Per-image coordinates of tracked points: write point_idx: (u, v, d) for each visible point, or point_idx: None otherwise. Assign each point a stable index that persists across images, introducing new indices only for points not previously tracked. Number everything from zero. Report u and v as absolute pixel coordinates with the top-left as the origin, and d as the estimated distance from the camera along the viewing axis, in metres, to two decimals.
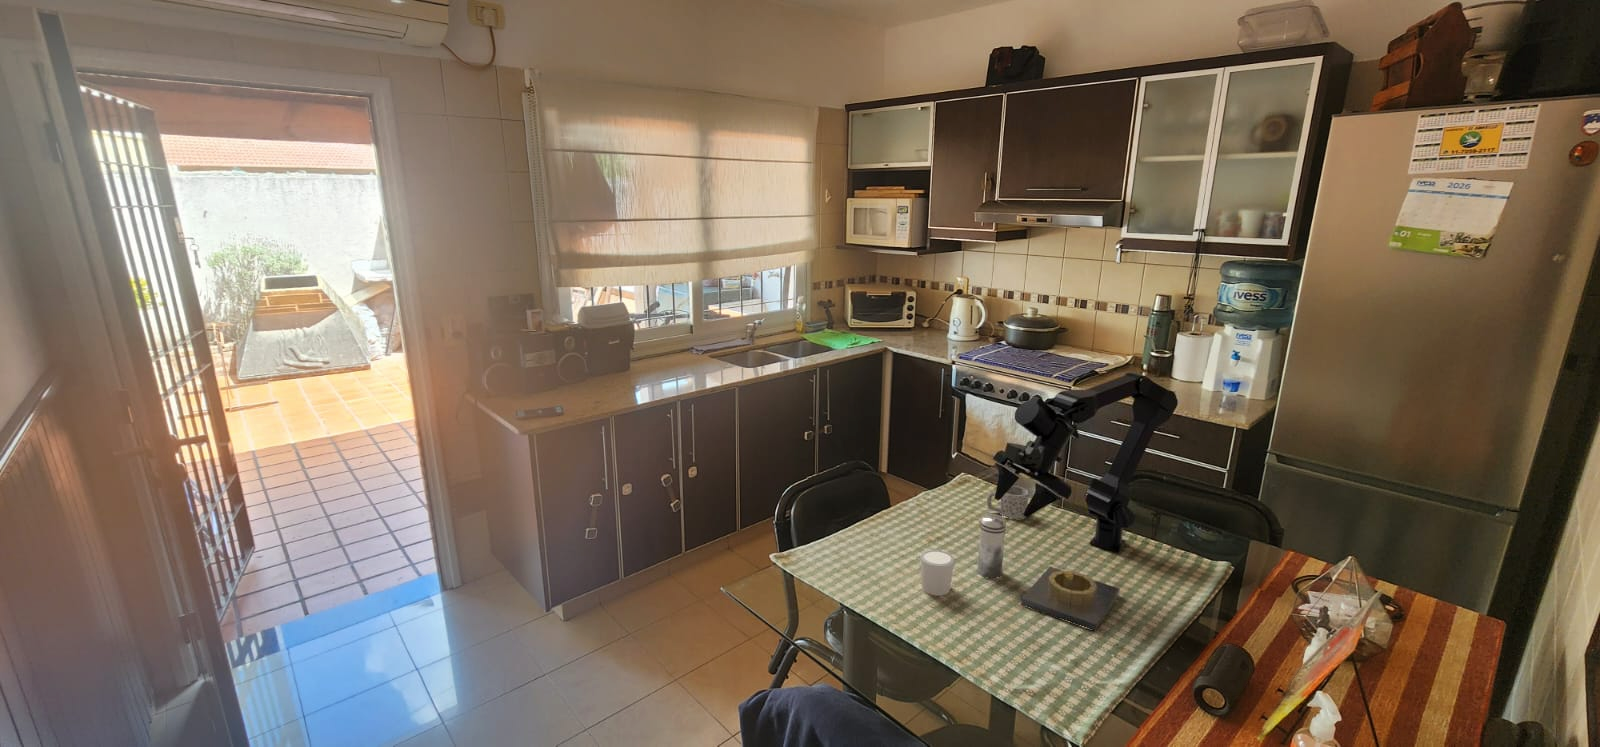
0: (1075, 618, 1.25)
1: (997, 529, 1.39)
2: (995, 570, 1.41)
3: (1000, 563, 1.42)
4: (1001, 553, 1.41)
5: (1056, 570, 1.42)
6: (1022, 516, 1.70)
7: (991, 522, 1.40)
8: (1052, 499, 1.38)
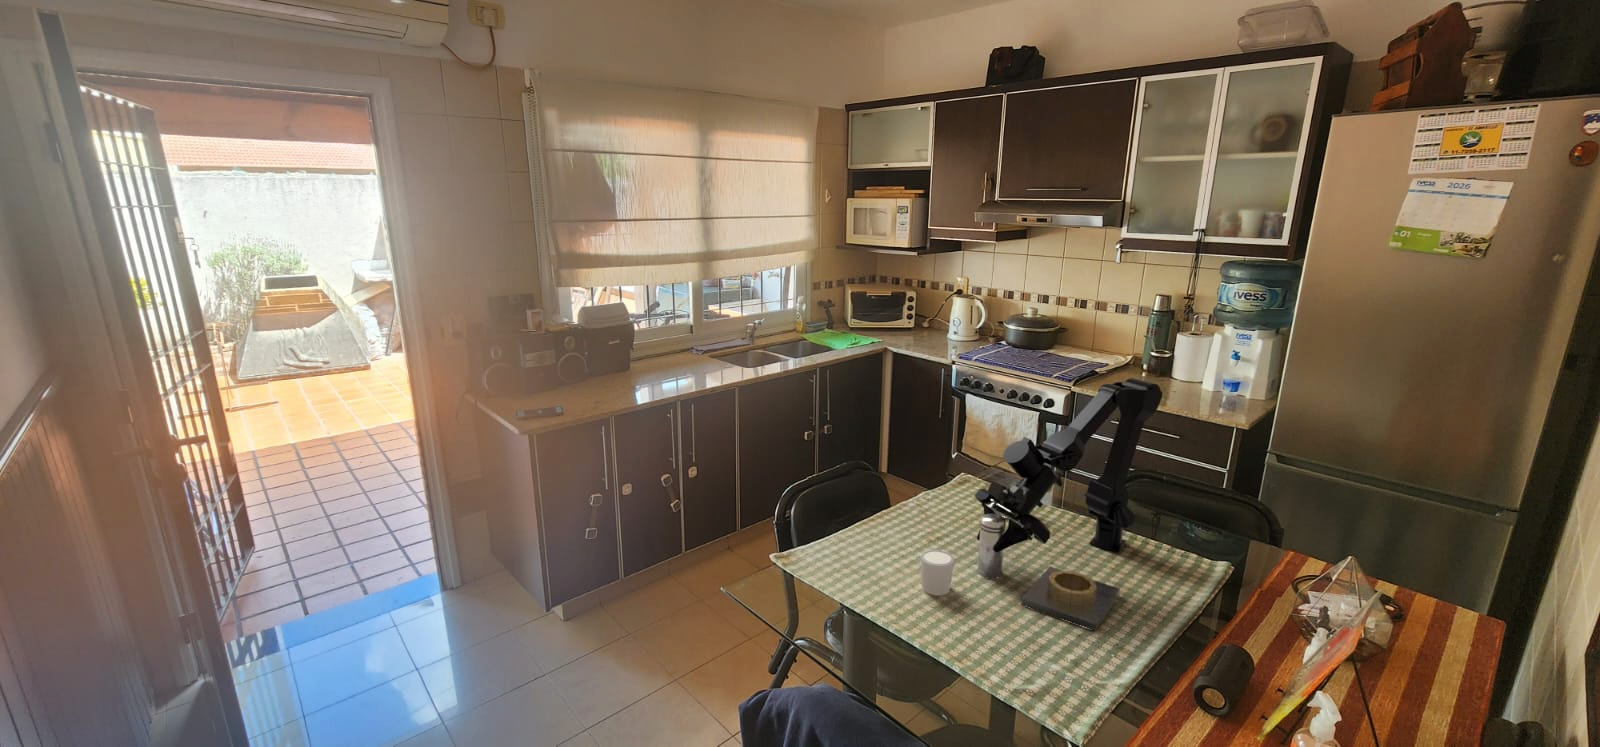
0: (1075, 618, 1.25)
1: (997, 529, 1.39)
2: (995, 570, 1.41)
3: (1000, 563, 1.42)
4: (1001, 553, 1.41)
5: (1056, 570, 1.42)
6: None
7: (990, 522, 1.40)
8: (1023, 538, 1.40)
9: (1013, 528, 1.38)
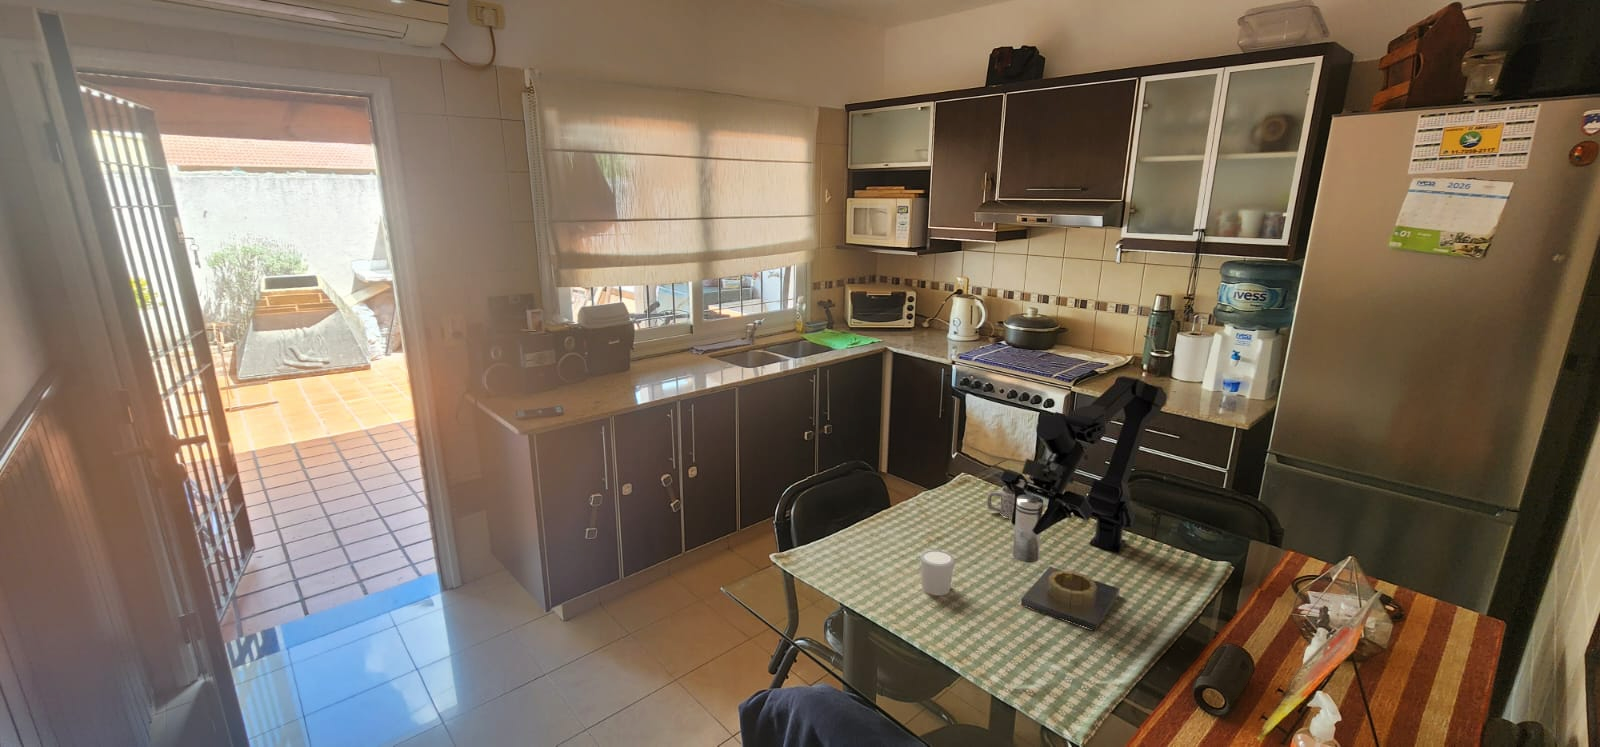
0: (1075, 618, 1.25)
1: (1037, 510, 1.32)
2: (1035, 553, 1.35)
3: (1039, 545, 1.35)
4: (1039, 535, 1.35)
5: (1056, 570, 1.42)
6: None
7: (1030, 503, 1.33)
8: (1062, 517, 1.34)
9: (1054, 507, 1.32)
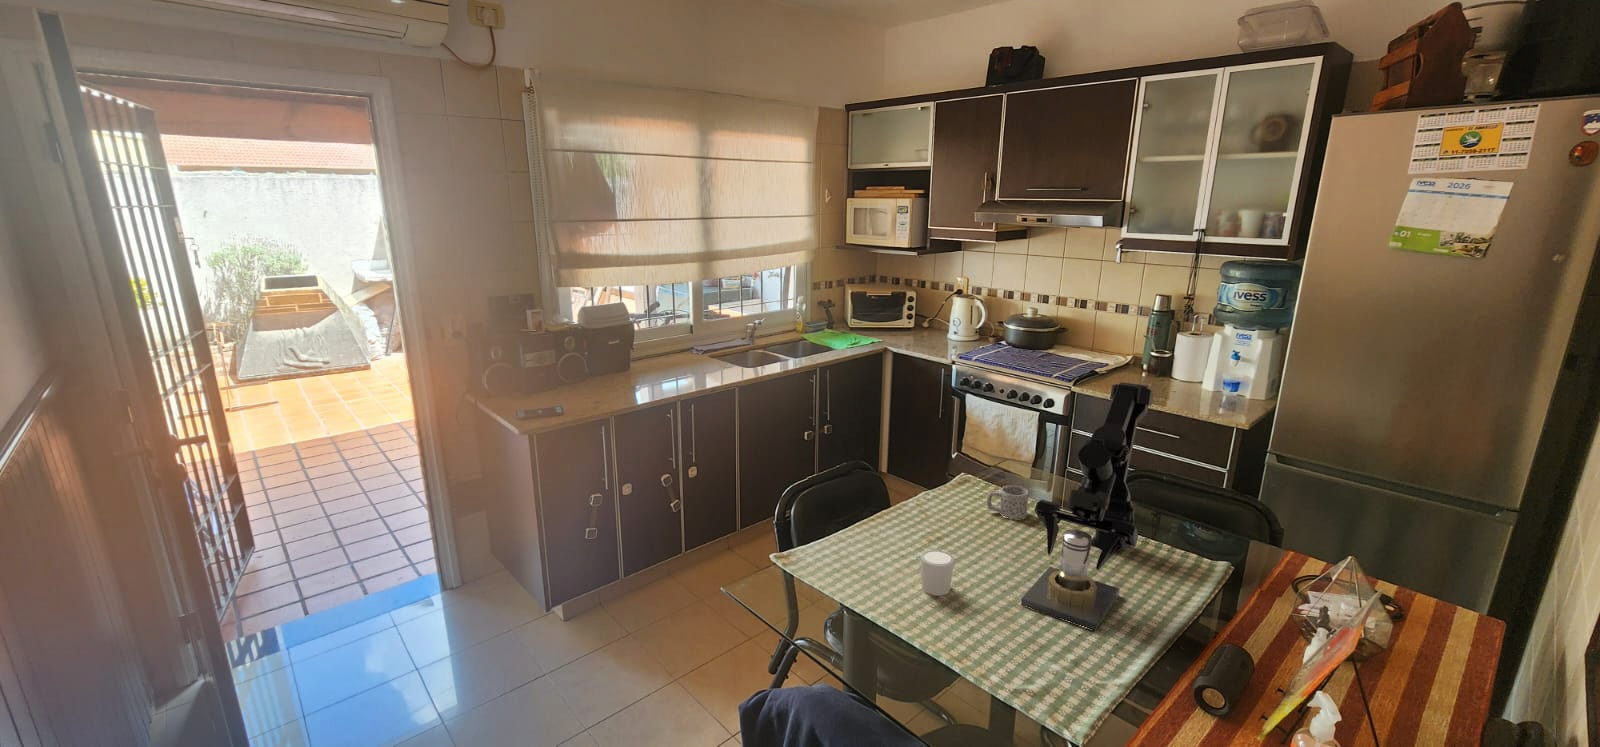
0: (1075, 618, 1.25)
1: (1088, 546, 1.29)
2: (1084, 589, 1.31)
3: None
4: (1087, 570, 1.31)
5: (1056, 570, 1.42)
6: (1022, 516, 1.70)
7: (1081, 540, 1.29)
8: (1117, 547, 1.30)
9: (1115, 540, 1.28)
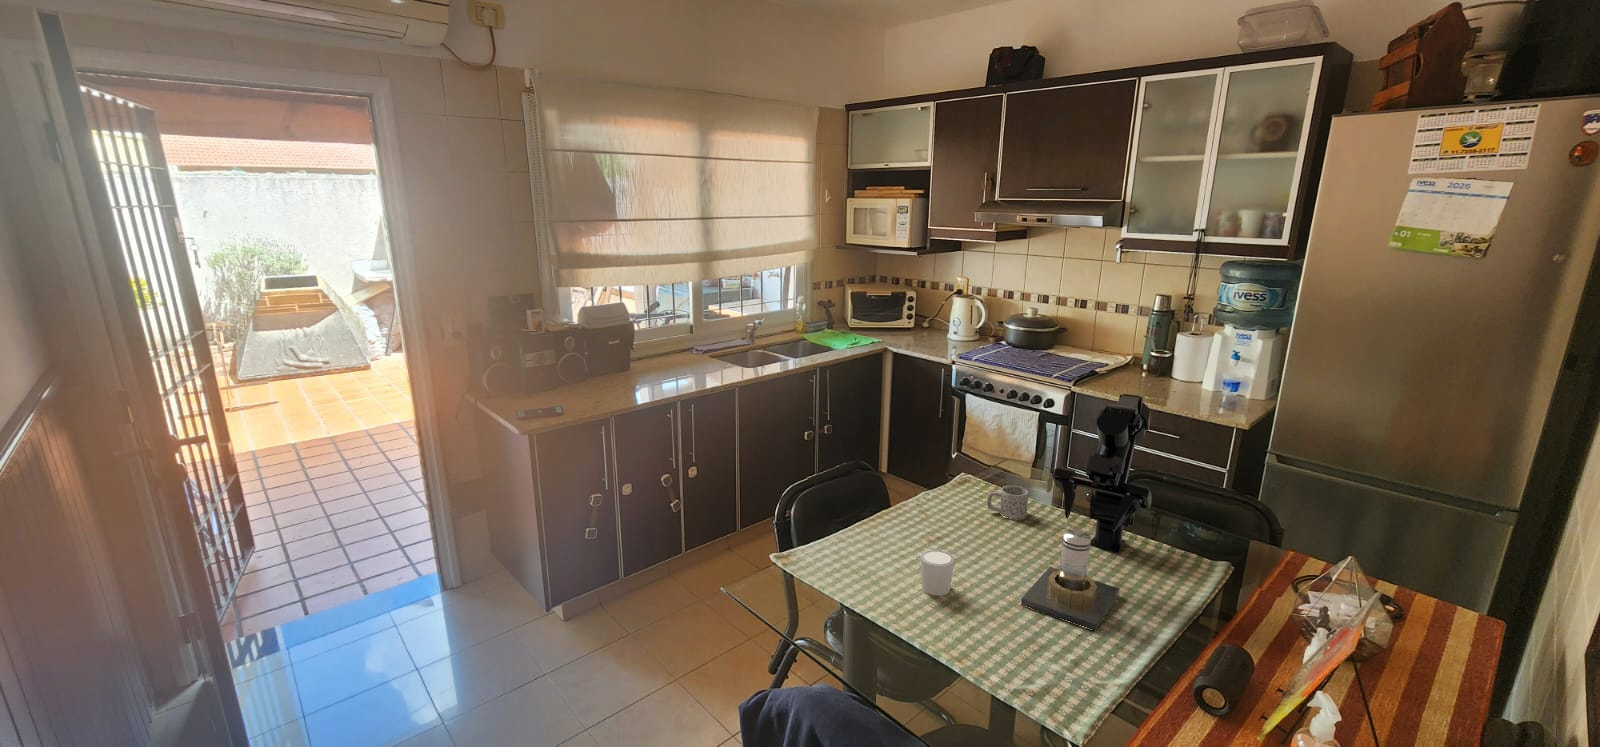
0: (1075, 618, 1.25)
1: (1087, 546, 1.29)
2: (1084, 589, 1.31)
3: None
4: None
5: (1056, 570, 1.42)
6: (1022, 516, 1.70)
7: (1080, 539, 1.29)
8: (1132, 510, 1.37)
9: (1130, 502, 1.34)
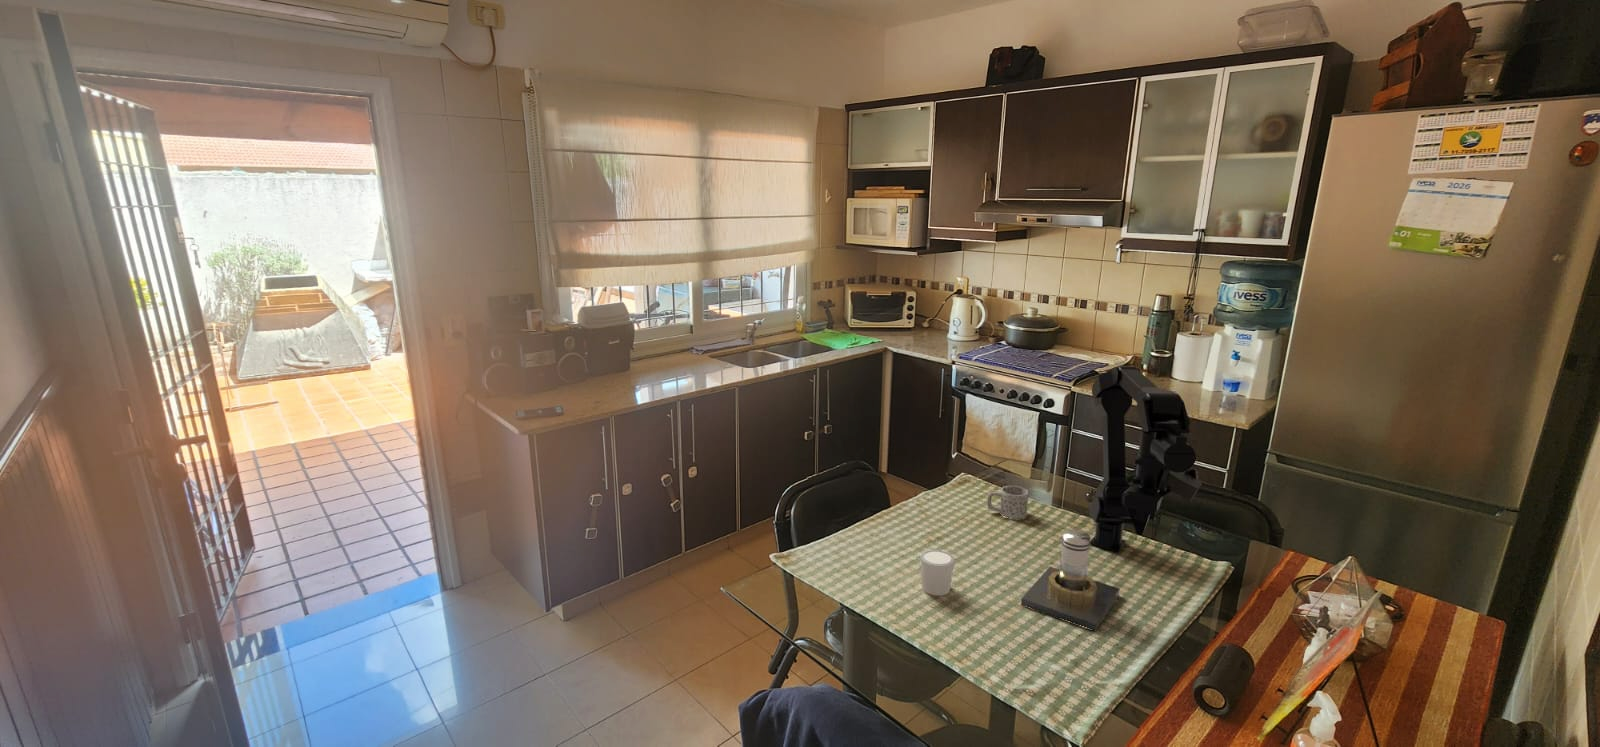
0: (1075, 618, 1.25)
1: (1087, 546, 1.29)
2: (1083, 589, 1.31)
3: None
4: None
5: (1056, 570, 1.42)
6: (1022, 516, 1.70)
7: (1080, 539, 1.29)
8: None
9: None
